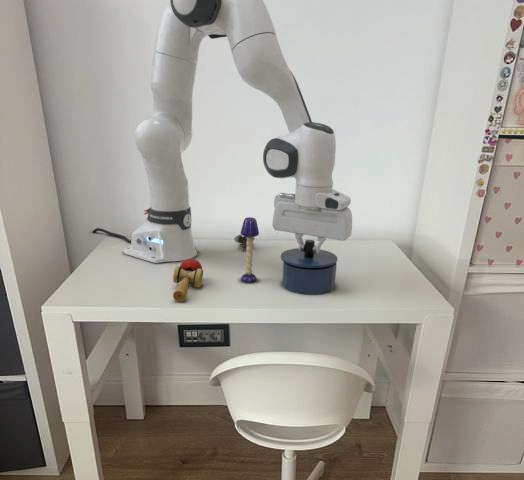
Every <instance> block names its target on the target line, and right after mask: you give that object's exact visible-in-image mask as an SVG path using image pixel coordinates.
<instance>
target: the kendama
mask: <svg viewBox="0 0 524 480" xmlns="http://www.w3.org/2000/svg"><path fill="white" fill-rule="evenodd" d="M203 276H204V269H203V266H202V264H201V262H200V261H199V260H197V259H195V258H190V259H186V260H182V262H181V264H180V265H176V266H175V268H174V271H173V277H172V281H173V283H174V284H178V285H177V287H176V288H175V290H174V291H173V293H172V298H173V299H174V301H176V302H177V303H183V302H184V301H185V299H186V296H187V291H188V289H189V284H190V283H191V284H192V285H193V286H194V287H195V288H201V286H202V282H203V278H204V277H203Z"/></svg>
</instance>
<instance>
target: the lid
mask: <svg viewBox="0 0 524 480" xmlns="http://www.w3.org/2000/svg"><path fill="white" fill-rule="evenodd" d="M315 241H316V240H314V239H305V241H304V243H305V252H303V251H299V247H298V248H290V249H287V250H284V251H282V252H281V253H280V255H279V257H280V260H281V261H282V262H285V263H287V264H290V265H294V266H298V267H306V268H321V267H327V266H331V265H334V264H335V263H337V262H338V256H337V255H336V254H335V253H333V252H331V251H328V250H325V249H320V253H319V254H314V253H312V251H313V246H315V245H316V244H315Z"/></svg>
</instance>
